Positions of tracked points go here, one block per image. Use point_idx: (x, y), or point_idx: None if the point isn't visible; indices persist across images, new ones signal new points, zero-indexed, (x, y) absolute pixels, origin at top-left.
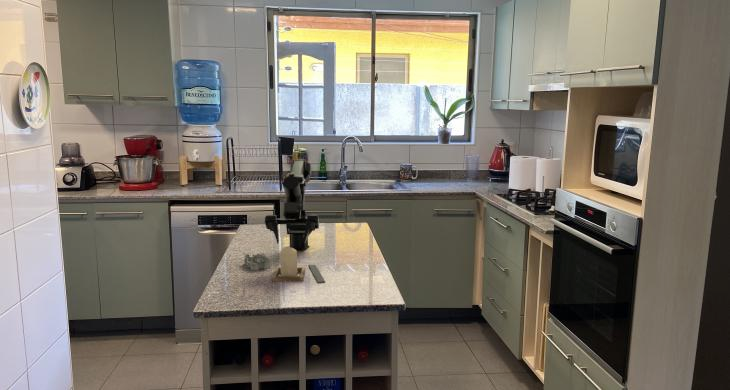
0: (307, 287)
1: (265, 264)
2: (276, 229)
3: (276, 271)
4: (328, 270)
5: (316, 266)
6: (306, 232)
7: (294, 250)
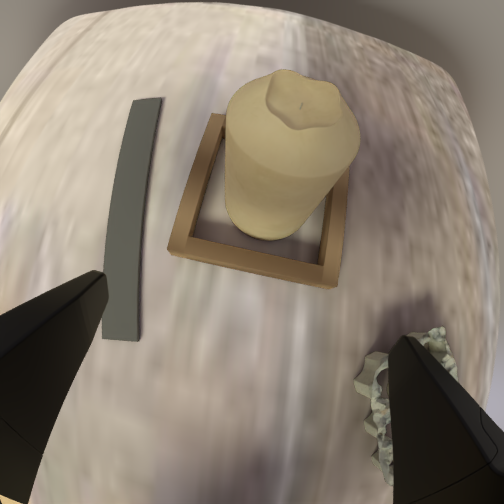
0: (211, 75)
1: (385, 354)
2: (488, 448)
3: (335, 215)
4: (67, 239)
5: None
6: (4, 327)
7: (250, 85)
